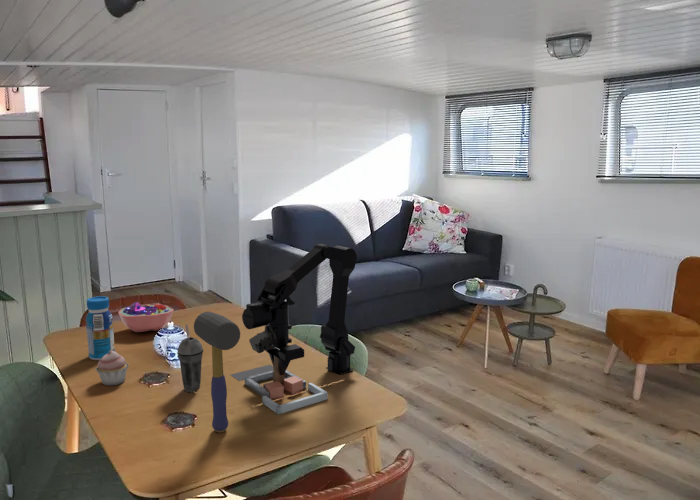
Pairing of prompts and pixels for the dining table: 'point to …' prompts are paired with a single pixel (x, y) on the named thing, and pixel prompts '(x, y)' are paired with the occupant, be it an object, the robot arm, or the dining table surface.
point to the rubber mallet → (217, 359)
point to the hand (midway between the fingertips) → (279, 373)
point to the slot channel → (253, 380)
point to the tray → (299, 403)
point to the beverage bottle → (99, 327)
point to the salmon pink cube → (293, 385)
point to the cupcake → (112, 368)
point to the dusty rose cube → (275, 389)
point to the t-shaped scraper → (277, 373)
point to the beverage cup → (190, 362)
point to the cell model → (145, 316)
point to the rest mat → (252, 372)
